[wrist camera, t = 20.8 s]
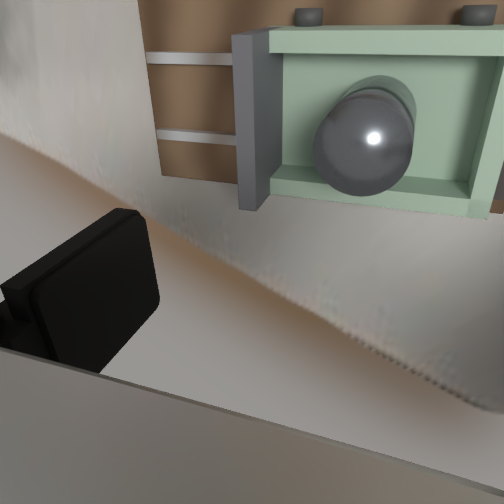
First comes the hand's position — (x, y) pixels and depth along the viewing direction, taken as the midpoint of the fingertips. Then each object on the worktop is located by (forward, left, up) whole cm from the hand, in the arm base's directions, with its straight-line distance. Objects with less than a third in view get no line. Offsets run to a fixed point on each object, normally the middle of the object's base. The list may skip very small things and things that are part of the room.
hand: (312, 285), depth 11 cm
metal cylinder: (+1, +1, -22) cm, 22 cm away
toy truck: (+1, +1, -24) cm, 24 cm away
